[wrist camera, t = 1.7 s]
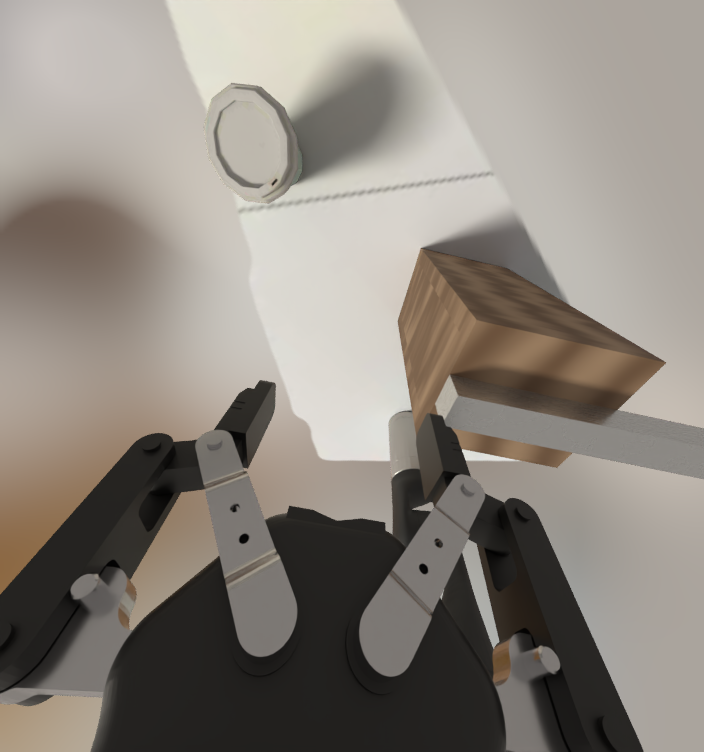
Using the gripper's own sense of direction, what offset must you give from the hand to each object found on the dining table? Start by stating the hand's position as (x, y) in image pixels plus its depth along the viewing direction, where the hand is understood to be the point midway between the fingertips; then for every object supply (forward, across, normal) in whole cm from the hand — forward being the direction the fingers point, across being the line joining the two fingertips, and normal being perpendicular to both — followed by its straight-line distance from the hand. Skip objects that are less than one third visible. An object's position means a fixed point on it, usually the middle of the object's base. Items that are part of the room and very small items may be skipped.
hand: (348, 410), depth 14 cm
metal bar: (+10, -22, +4) cm, 24 cm away
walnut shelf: (+42, -17, +4) cm, 45 cm away
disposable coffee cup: (+42, +16, -11) cm, 46 cm away
